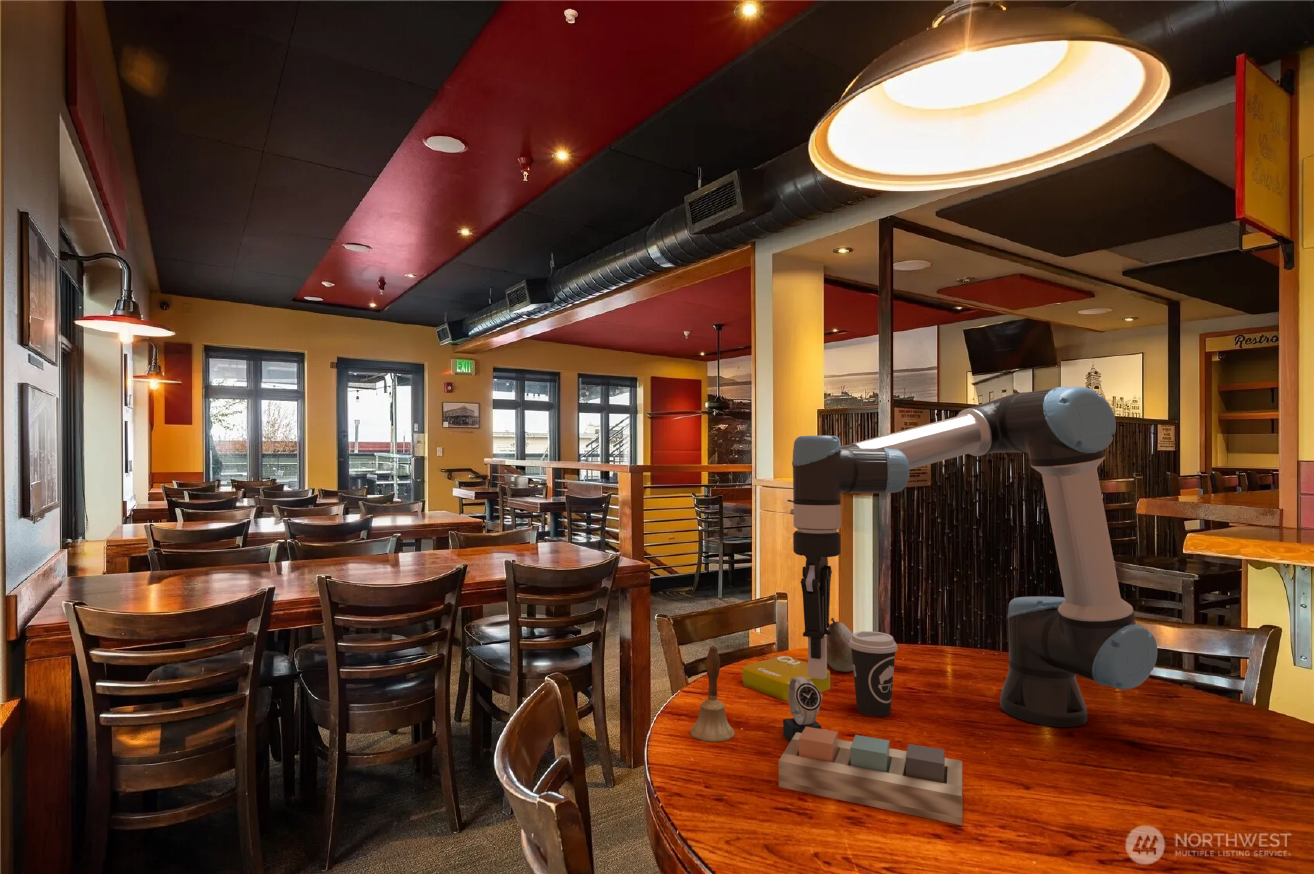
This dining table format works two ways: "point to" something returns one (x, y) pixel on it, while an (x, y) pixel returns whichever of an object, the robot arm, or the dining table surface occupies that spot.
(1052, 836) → the dining table surface
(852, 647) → the coffee cup
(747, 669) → the element tile
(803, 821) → the dining table surface
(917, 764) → the charcoal button
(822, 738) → the terracotta button
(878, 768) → the teal button
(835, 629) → the fruit
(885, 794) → the button panel
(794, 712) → the watch
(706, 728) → the hand bell
